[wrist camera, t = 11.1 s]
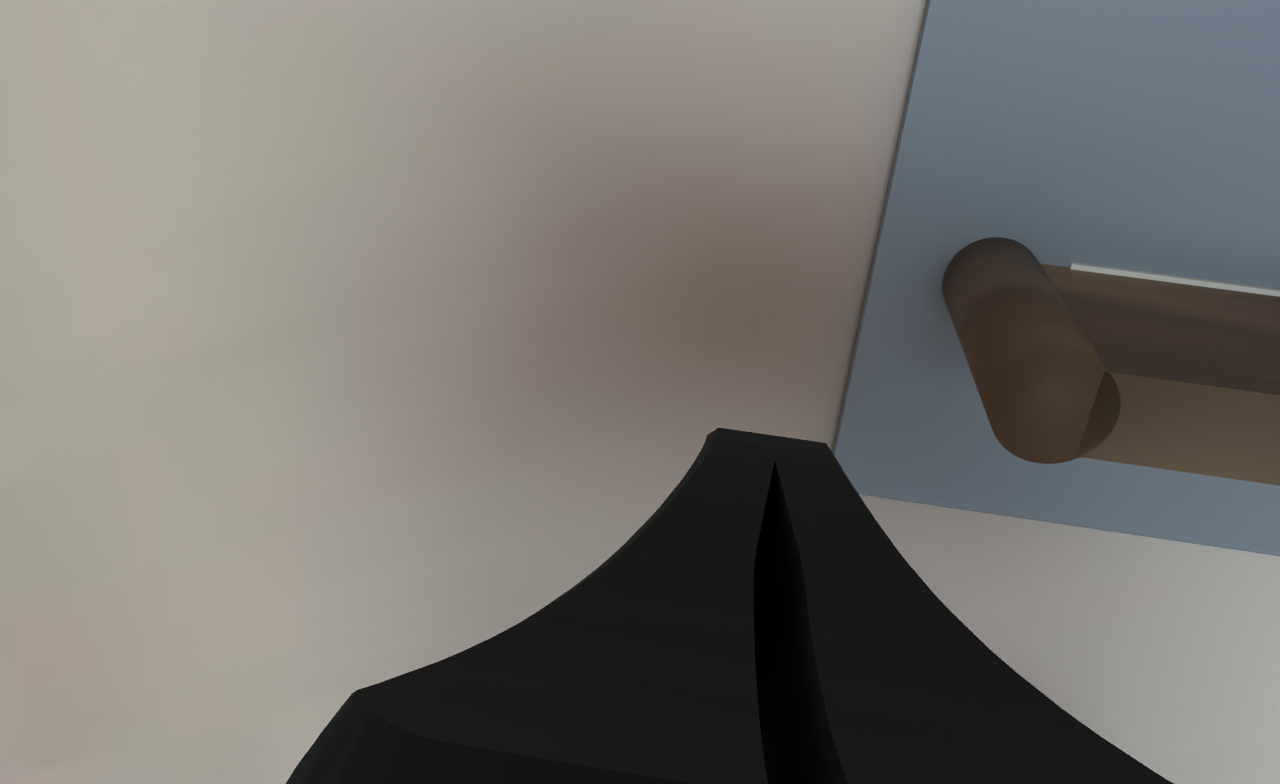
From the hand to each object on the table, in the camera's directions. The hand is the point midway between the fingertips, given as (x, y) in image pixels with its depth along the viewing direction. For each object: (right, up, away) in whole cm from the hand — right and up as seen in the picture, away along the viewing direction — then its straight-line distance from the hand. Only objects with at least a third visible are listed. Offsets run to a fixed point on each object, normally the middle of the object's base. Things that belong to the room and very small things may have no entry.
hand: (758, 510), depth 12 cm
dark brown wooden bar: (+10, +3, +7) cm, 13 cm away
